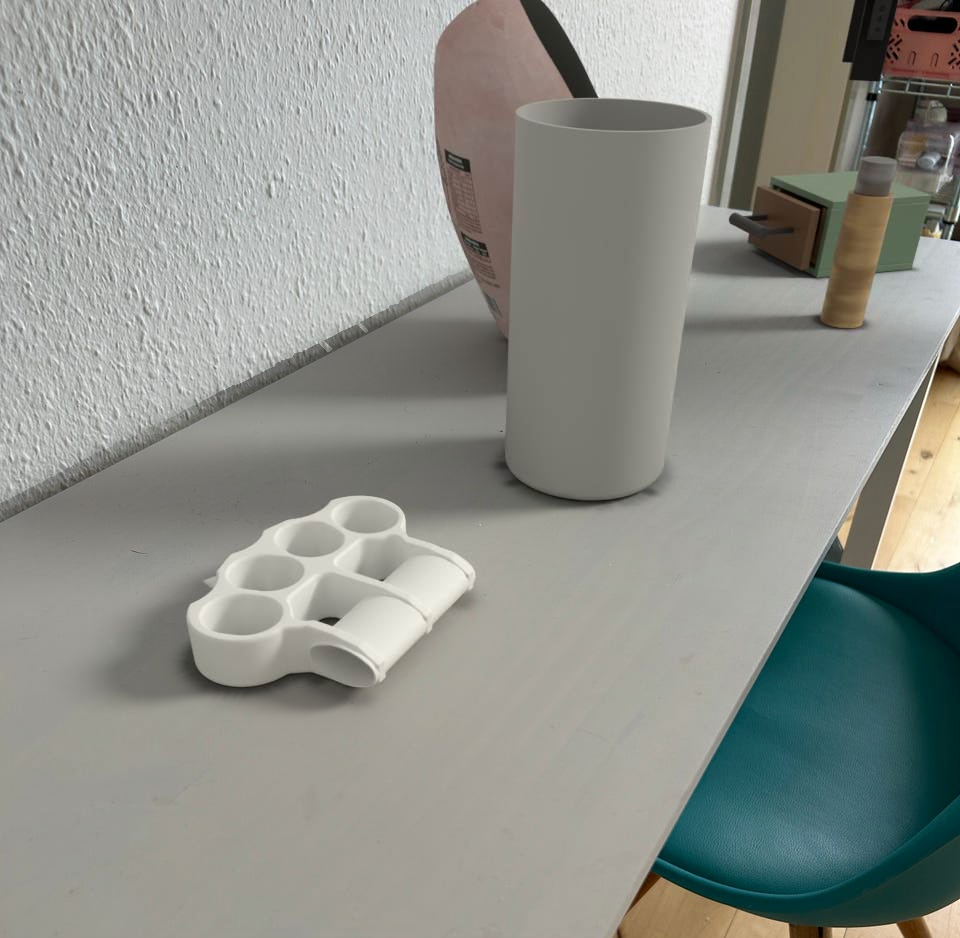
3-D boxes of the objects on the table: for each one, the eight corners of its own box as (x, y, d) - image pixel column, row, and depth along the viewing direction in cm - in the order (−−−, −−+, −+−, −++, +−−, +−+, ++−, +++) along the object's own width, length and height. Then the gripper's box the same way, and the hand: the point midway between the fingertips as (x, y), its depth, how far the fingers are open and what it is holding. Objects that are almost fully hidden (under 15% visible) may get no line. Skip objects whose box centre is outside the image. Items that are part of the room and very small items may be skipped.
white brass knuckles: (345, 734, 53) (138, 653, 58) (498, 574, 65) (317, 520, 71) (340, 686, 51) (127, 607, 56) (499, 530, 63) (313, 478, 69)
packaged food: (671, 388, 91) (724, 2, 73) (464, 405, 87) (466, 4, 69) (595, 310, 108) (623, -18, 90) (419, 322, 104) (411, -18, 86)
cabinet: (816, 277, 119) (833, 201, 114) (758, 247, 129) (771, 176, 124) (911, 269, 122) (931, 194, 117) (847, 239, 133) (863, 170, 127)
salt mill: (870, 326, 105) (912, 163, 96) (835, 330, 104) (873, 165, 95) (846, 313, 109) (884, 154, 99) (812, 316, 108) (846, 156, 98)
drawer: (763, 273, 117) (774, 212, 113) (713, 245, 126) (721, 188, 122) (888, 262, 121) (903, 203, 117) (830, 235, 131) (842, 180, 127)
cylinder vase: (694, 485, 76) (753, 124, 61) (552, 518, 71) (577, 137, 56) (609, 422, 85) (642, 94, 70) (478, 448, 80) (483, 104, 65)
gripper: (866, -199, 95) (816, 54, 108) (888, -226, 76) (825, 86, 89) (947, -199, 94) (888, 57, 107) (991, -226, 75) (912, 91, 87)
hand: (859, 71), depth 98 cm, fingers open, 13 cm apart
